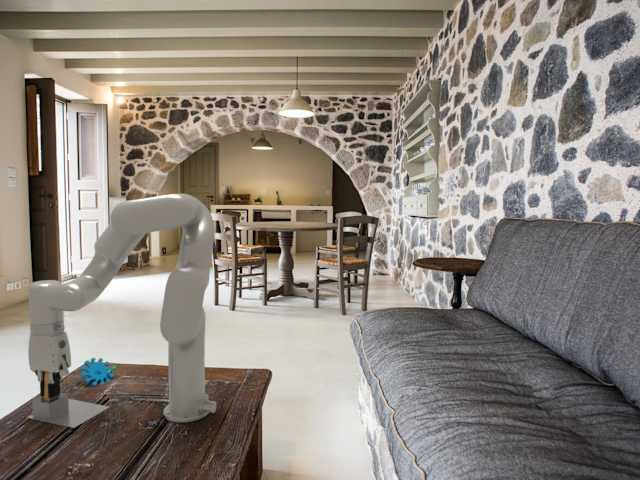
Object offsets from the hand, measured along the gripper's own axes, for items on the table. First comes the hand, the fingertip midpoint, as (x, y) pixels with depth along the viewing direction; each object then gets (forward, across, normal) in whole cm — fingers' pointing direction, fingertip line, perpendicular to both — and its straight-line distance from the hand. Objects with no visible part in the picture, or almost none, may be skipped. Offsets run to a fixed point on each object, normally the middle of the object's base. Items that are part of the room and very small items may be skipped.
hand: (50, 395), depth 119 cm
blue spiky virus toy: (+7, +6, -22) cm, 24 cm away
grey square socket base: (+6, -3, -3) cm, 8 cm away
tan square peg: (+4, 0, 0) cm, 4 cm away
